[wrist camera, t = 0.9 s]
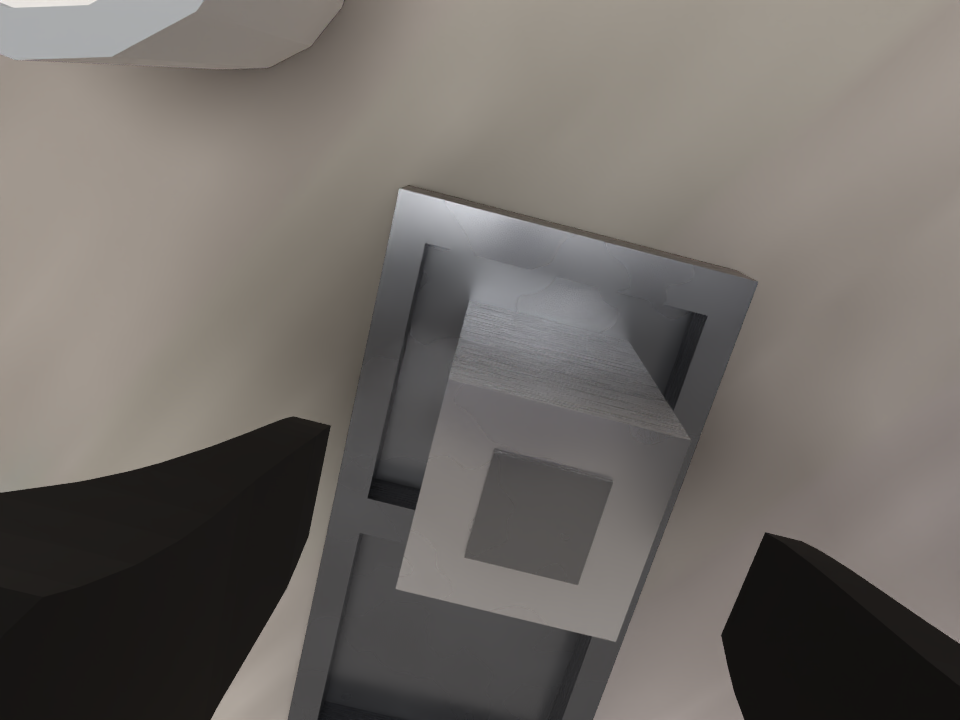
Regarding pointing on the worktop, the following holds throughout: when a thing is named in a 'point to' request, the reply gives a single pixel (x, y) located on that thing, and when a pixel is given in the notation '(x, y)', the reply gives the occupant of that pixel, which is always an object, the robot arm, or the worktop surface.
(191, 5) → the white cup
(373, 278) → the worktop surface
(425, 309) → the silver divided tray
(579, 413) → the brushed steel square tube
